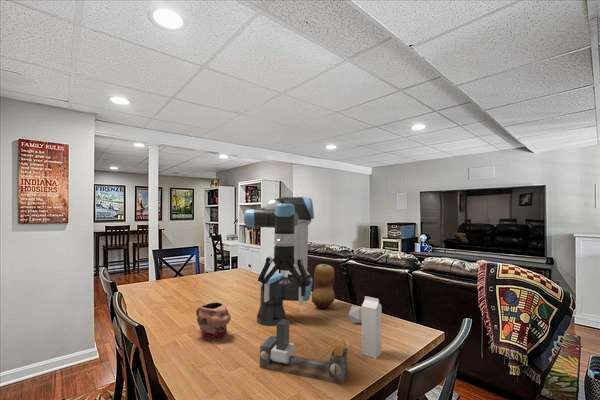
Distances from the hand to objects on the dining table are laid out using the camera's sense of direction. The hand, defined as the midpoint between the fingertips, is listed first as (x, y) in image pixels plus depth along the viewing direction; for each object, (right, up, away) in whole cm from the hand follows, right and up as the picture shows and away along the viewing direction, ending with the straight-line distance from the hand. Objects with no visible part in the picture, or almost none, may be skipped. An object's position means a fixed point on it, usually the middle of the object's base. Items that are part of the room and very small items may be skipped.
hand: (283, 303), depth 105 cm
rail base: (+7, -22, -3) cm, 24 cm away
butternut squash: (+20, -26, +63) cm, 71 cm away
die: (+35, -25, +41) cm, 59 cm away
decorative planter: (-34, -23, +22) cm, 46 cm away
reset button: (+19, -15, -7) cm, 26 cm away
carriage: (0, -20, -1) cm, 20 cm away
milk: (+35, -23, +8) cm, 43 cm away
